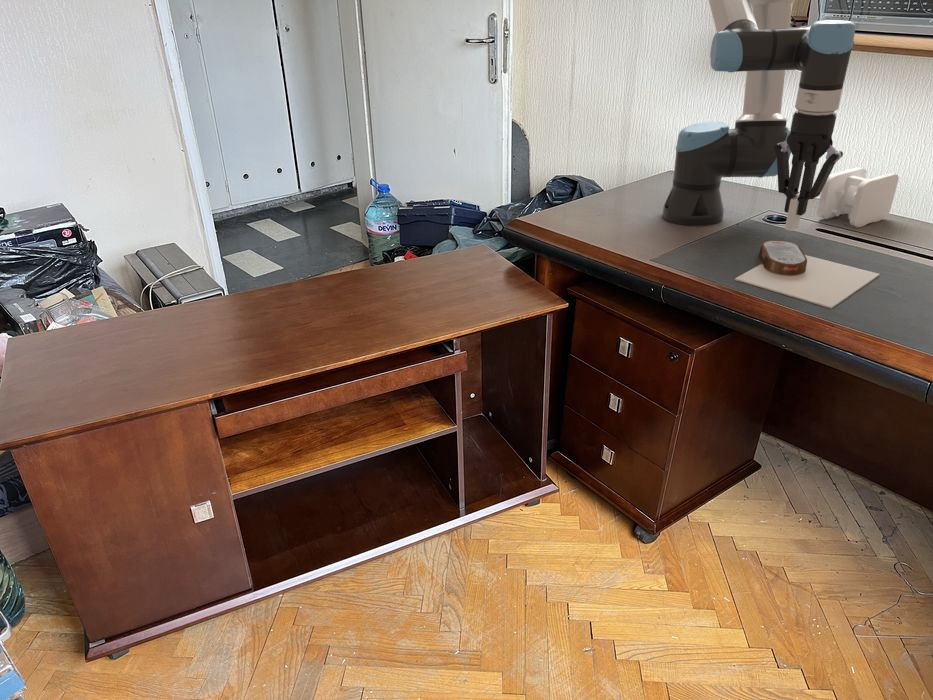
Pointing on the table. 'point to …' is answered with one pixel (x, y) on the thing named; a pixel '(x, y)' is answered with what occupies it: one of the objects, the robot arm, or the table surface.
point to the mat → (813, 281)
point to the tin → (783, 257)
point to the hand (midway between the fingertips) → (791, 228)
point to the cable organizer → (857, 196)
